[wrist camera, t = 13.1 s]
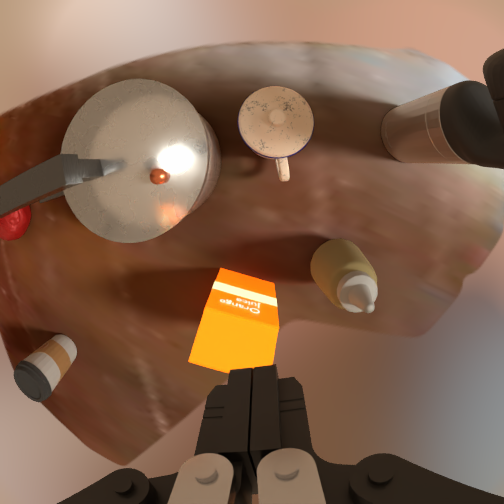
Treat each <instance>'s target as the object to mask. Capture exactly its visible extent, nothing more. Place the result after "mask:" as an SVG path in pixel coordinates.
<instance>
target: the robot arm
mask: <svg viewBox="0 0 504 504" xmlns="http://www.w3.org/2000/svg"><path fill="white" fill-rule="evenodd" d="M483 74H484V78H485V81H486V84H487V86H486V85H484V84H482V83H480V82H477V81H463V82H460V83H457V84H454V85H452V86H449V87H446V88H444V89H441V90H438V91H436V92H434V93H431V94H428V95H426V96H423V97H421V98H418V99H416V100H413V101H411V102H408V103H406V104H403V105H401V106H398V107H396V108H394V109H392V110H390V111H389V112H388V113H387V114H386V115H385V117H384V118H383V121H382V125H381V137H382V140H383V143H384V145H385V148H386V149H387V150H388V152H389V153H390V154H391V155H392V156H393V157H394V158H396V159H397V160H399V161H401V162H404V163H446V164H477V165H479V166H483V167H492V168H500V169H504V49H502V50H500V51H498V52H496V53H494V54H493V55H491V56H490V57H489V58H488V59H487V60H486V61H485V63H484V65H483ZM252 494H258V495H259V504H504V497H501V496H498V495H494V494H491V493H488V492H485V491H482V490H479V489H476V488H473V487H470V486H467V485H465V484H462V483H460V482H457V481H454V480H452V479H449V478H447V477H444V476H442V475H439V474H436V473H434V472H432V471H429V470H427V469H425V468H422V467H420V466H418V465H416V464H413V463H411V462H409V461H407V460H405V459H402V458H400V457H398V456H396V455H392V454H386V453H383V454H374V455H371V456H369V457H366V458H364V459H363V460H361V461H360V462H359V463H358V464H356V465H342V464H333V463H329V462H327V461H324V460H323V459H321V458H320V457H319V456H317V455H316V453H315V452H314V450H313V448H312V443H311V437H310V431H309V425H308V418H307V412H306V406H305V401H304V394H303V389H302V386H301V384H300V383H299V382H298V381H297V380H296V379H295V378H294V377H290V378H283V379H279V378H278V373H277V367H276V364H274V365H266V366H258V367H254V369H253V368H252V367H250V368H241V369H231V370H230V372H229V378H228V385H217V386H215V387H214V389H213V390H212V391H211V392H210V394H209V395H208V396H207V401H206V405H205V410H204V415H203V420H202V423H201V428H200V432H199V437H198V441H197V446H196V450H195V454H194V457H192V458H190V459H188V460H187V461H186V462H185V463H184V464H183V465H182V467H181V468H180V470H179V472H177V473H174V474H171V475H167V476H161V477H156V478H149V479H148V478H147V477H146V476H145V475H144V474H143V473H142V472H140V471H138V470H136V469H131V468H124V469H119V470H116V471H114V472H112V473H110V474H109V475H107V476H105V477H104V478H102V479H100V480H99V481H97V482H95V483H94V484H92V485H90V486H88V487H87V488H85V489H83V490H81V491H80V492H78V493H76V494H74V495H72V496H71V497H69V498H67V499H65V500H63V501H61V502H59V503H57V504H252Z"/></svg>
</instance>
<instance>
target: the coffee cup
mask: <svg viewBox="0 0 504 504" xmlns="http://www.w3.org/2000/svg"><path fill="white" fill-rule="evenodd" d="M76 354H77V350H76V346H75V344H74V343H73V341H72V340H71V339H70V338H69V337H67V336H65V335H61V334H60V335H56V336H54V337H53V338H52V339H50V340H48V341H47V342H46V343H44V344H43V345H42V346H40V347H39V348H38V349H37V350H35V351H34V352H33V353H31V354H30V356H28V357H27V358H26V359H24V360H23V361H20V362H19V364H18V365H17V366H16V369H15V371H14V379H15V382H16V384H17V385H18V387H19V388H20V390H21V391H22V392H23V393H24V394H25V395H26V396H27V397H28V398H30V399H31V400H33V401H36V402H41V401H43V400H46V399H47V398H48V397H49V396H51V393H52V391H53V389H54V388H55V386H56V385H57V384H58V383H59V381H60V380H61V378H62V377H63V376H64V374H65V373H66V371H67V370H68V368H69V367H70V366H71V364H72V362H73V361H74V359H75V358H76Z"/></svg>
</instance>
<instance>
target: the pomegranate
mask: <svg viewBox="0 0 504 504" xmlns="http://www.w3.org/2000/svg"><path fill="white" fill-rule="evenodd" d="M30 220H31V210H30V206H29V205H28V206H26V207H24V208H22V209H20V210H18V211H15V212H13V213H11V214H9V215H7V216H5V217H3V218H1V219H0V238H1V239H3V240H7V241H10V240H15V239H18V238H20V237H21V236H22V235H23V234H24V233H25V232H26V230H27V228H28V226H29V224H30Z"/></svg>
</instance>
